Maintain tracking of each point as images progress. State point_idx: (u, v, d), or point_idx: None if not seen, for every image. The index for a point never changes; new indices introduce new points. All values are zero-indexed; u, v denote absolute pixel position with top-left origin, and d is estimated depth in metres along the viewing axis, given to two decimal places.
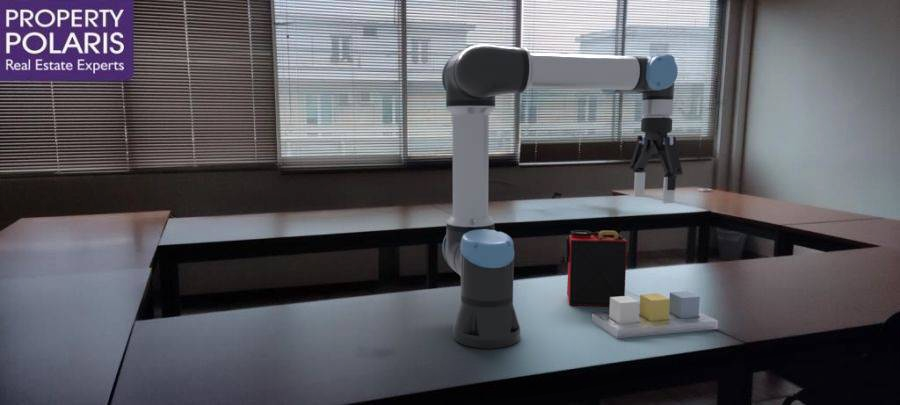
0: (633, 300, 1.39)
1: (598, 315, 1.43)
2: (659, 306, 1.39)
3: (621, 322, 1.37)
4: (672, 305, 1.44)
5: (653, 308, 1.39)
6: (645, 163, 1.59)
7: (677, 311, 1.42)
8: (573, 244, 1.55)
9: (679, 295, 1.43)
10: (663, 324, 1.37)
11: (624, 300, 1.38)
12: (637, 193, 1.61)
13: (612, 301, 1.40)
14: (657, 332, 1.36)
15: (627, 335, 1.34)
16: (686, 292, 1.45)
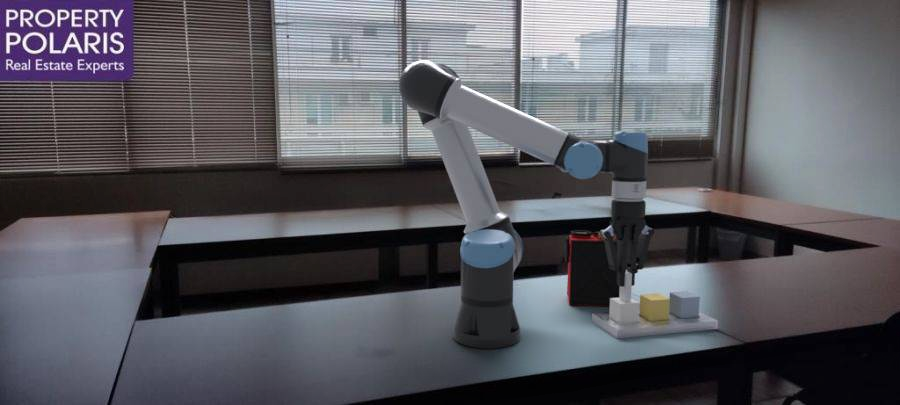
0: (633, 301, 1.39)
1: (598, 315, 1.43)
2: (659, 306, 1.39)
3: (621, 323, 1.38)
4: (672, 305, 1.44)
5: (653, 308, 1.39)
6: (630, 257, 1.38)
7: (677, 311, 1.42)
8: (573, 244, 1.55)
9: (679, 295, 1.43)
10: (663, 324, 1.37)
11: (624, 301, 1.38)
12: None
13: (612, 302, 1.40)
14: (657, 332, 1.36)
15: (627, 335, 1.34)
16: (686, 292, 1.45)
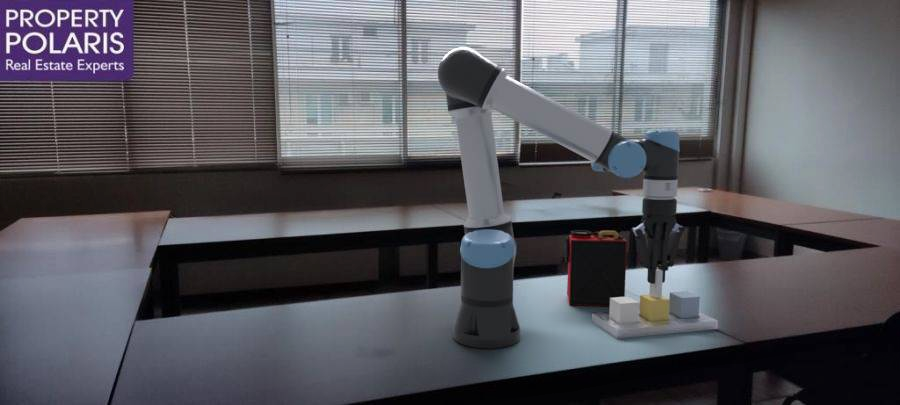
0: (633, 301, 1.39)
1: (598, 315, 1.43)
2: (659, 307, 1.39)
3: (621, 323, 1.37)
4: (672, 305, 1.44)
5: (653, 309, 1.39)
6: (661, 254, 1.40)
7: (677, 311, 1.42)
8: (573, 244, 1.55)
9: (679, 295, 1.43)
10: (663, 324, 1.37)
11: (624, 301, 1.38)
12: None
13: (612, 301, 1.40)
14: (657, 332, 1.36)
15: (627, 335, 1.34)
16: (686, 292, 1.45)
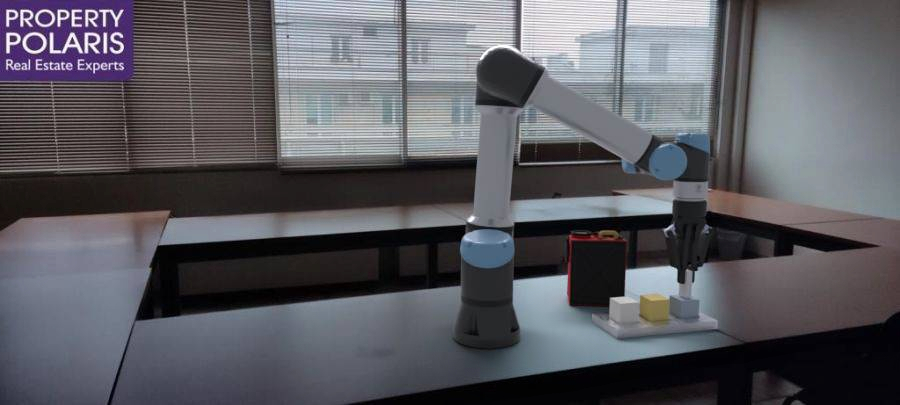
0: (633, 301, 1.39)
1: (598, 315, 1.43)
2: (659, 307, 1.39)
3: (621, 323, 1.37)
4: (672, 308, 1.44)
5: (653, 308, 1.39)
6: (691, 255, 1.42)
7: (677, 314, 1.42)
8: (573, 244, 1.55)
9: (679, 298, 1.43)
10: (663, 324, 1.37)
11: (624, 301, 1.38)
12: None
13: (612, 301, 1.40)
14: (657, 332, 1.36)
15: (627, 335, 1.34)
16: None
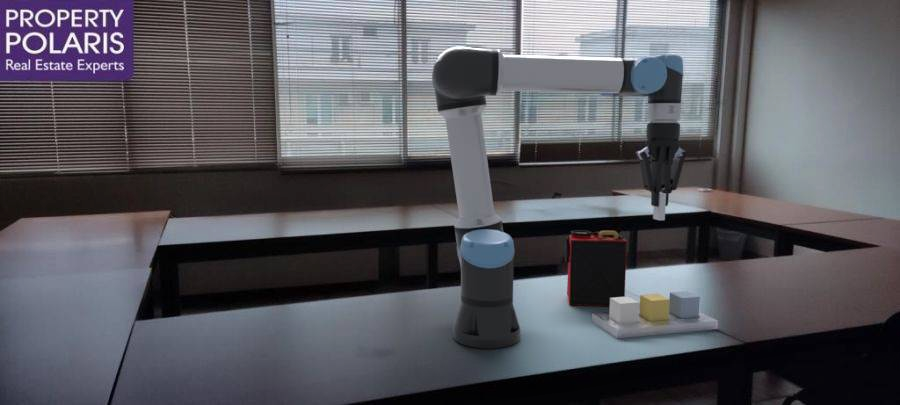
0: (633, 301, 1.39)
1: (598, 315, 1.43)
2: (659, 307, 1.39)
3: (621, 323, 1.37)
4: (672, 305, 1.44)
5: (653, 308, 1.39)
6: (664, 178, 1.44)
7: (677, 311, 1.42)
8: (573, 244, 1.55)
9: (679, 295, 1.43)
10: (663, 324, 1.37)
11: (624, 301, 1.38)
12: None
13: (612, 301, 1.40)
14: (657, 332, 1.36)
15: (627, 335, 1.34)
16: (686, 292, 1.45)
